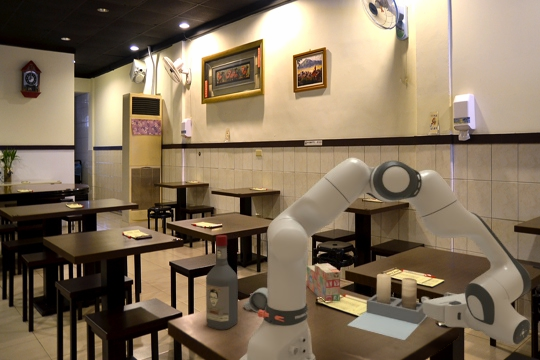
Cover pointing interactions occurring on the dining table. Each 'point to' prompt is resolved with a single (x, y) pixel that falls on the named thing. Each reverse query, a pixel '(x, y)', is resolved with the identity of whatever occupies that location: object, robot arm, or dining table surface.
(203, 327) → the dining table surface
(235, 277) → the liquor
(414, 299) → the beech post
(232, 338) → the dining table surface
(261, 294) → the ceramic mug
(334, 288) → the stack of blocks
